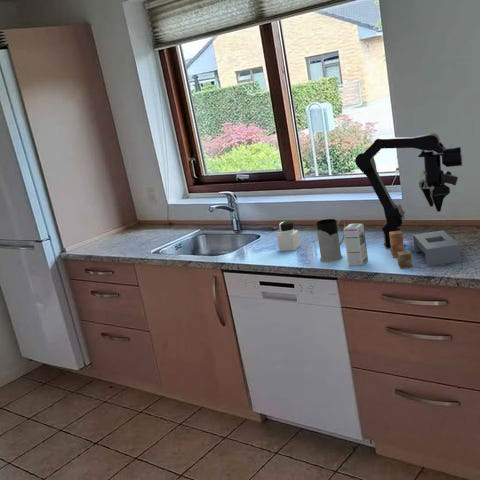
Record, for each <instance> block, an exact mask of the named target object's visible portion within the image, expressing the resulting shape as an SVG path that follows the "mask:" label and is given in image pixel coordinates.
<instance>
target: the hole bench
mask: <svg viewBox="0 0 480 480" xmlns="http://www.w3.org/2000/svg"><path fill="white" fill-rule="evenodd" d="M412 235H413V236H412V237H413V246H414V251H415V252H416V253H419V252H423V253H424V259H425V264H426V265H427V266H428V267H429V266H438V265H444V263H445V264H450V263H457V262H462V258H461V246H460V243H459V242H458V241H456V240H455V239H454V238H453V237H452V236H451V235H449V234H448V233H447V232H446V231H445V230H436V231H429V232H423V233H417V234H412ZM437 264H438V265H437Z"/></svg>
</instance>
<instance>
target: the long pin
mask: <svg viewBox="0 0 480 480" xmlns="http://www.w3.org/2000/svg"><path fill="white" fill-rule="evenodd" d="M400 230H401V229H400ZM400 230H399V231H392V232H389V236H390V245H391V248H390V253H391V256H392V258H393V259H396V258H397V259H398V256H397V252H401V251H405V248H404V236H402V234H403V233H402V231H400Z"/></svg>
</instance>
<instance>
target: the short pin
mask: <svg viewBox="0 0 480 480" xmlns="http://www.w3.org/2000/svg"><path fill="white" fill-rule="evenodd" d="M397 256H398V257H397V263H398V267H399V268H400V269H403V270H404V269H409V268H413V258H412V252H411V251H410V250H408V249H407V250H404V251H401V252H397Z"/></svg>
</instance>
